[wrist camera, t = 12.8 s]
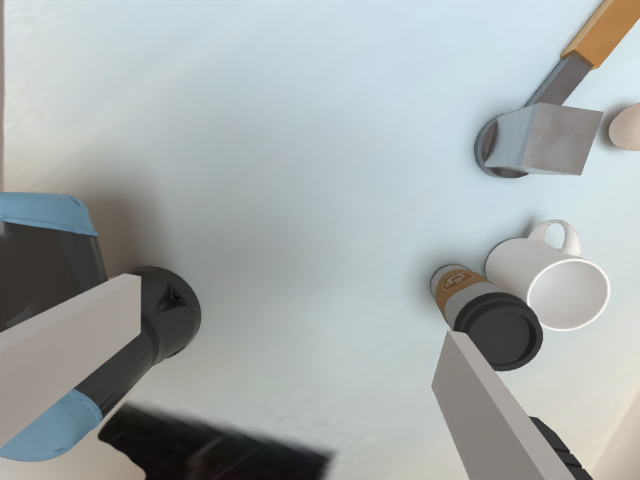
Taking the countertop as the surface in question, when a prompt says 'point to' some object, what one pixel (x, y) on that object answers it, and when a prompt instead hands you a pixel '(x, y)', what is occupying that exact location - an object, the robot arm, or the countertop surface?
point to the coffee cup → (488, 317)
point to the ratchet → (572, 66)
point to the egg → (627, 129)
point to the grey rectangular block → (543, 139)
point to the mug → (551, 278)
